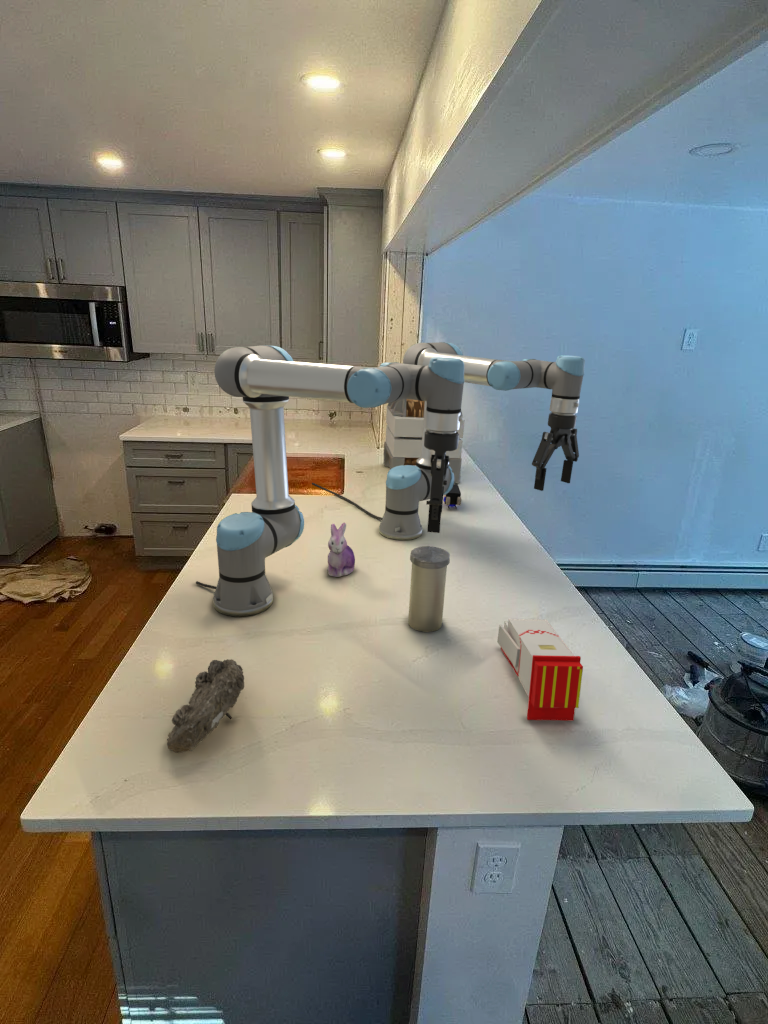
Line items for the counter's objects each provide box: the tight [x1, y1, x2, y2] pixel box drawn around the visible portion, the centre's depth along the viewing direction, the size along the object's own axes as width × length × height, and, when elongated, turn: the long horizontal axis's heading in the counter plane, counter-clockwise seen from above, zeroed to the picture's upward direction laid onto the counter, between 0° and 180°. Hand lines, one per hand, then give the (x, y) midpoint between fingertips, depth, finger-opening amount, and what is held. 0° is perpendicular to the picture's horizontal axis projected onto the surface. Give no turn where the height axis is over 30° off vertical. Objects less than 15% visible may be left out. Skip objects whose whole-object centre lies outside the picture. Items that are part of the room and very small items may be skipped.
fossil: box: [166, 658, 245, 754], centre depth 106 cm, size 22×10×15 cm
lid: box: [409, 545, 451, 569], centre depth 138 cm, size 10×10×2 cm
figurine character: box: [443, 483, 462, 510], centre depth 230 cm, size 7×8×15 cm
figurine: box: [327, 522, 356, 578], centre depth 167 cm, size 9×10×15 cm
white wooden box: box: [383, 399, 465, 484], centre depth 268 cm, size 34×33×41 cm
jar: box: [407, 562, 448, 633], centre depth 141 cm, size 9×9×19 cm
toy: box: [497, 618, 584, 722], centre depth 122 cm, size 12×13×30 cm
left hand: (434, 521), depth 131 cm, fingers open, 13 cm apart
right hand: (552, 485), depth 166 cm, fingers open, 13 cm apart
